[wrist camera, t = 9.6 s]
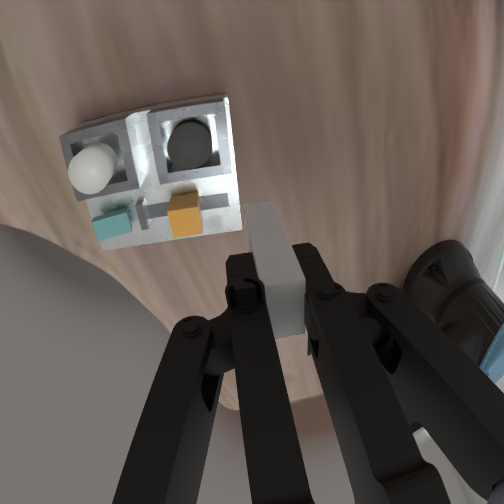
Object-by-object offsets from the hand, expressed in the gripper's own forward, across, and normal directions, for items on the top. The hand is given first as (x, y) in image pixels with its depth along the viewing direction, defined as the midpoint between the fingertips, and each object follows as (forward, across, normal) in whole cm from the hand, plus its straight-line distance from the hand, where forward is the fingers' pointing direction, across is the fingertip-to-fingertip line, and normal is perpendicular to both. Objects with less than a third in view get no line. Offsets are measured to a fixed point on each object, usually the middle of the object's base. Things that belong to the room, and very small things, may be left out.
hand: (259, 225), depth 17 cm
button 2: (+16, +4, -2) cm, 16 cm away
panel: (+21, +9, +2) cm, 23 cm away
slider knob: (+17, +6, +6) cm, 19 cm away
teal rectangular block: (+16, +14, +6) cm, 22 cm away
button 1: (+14, +13, -2) cm, 19 cm away
